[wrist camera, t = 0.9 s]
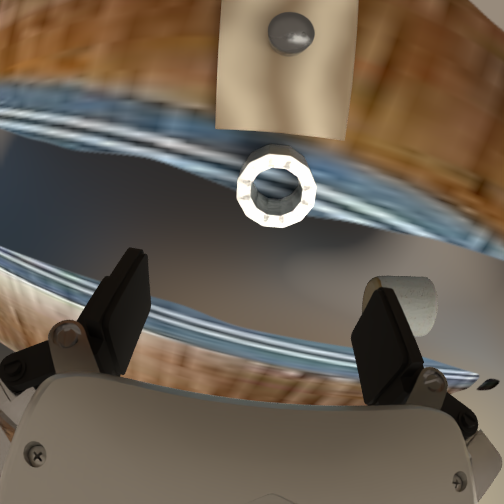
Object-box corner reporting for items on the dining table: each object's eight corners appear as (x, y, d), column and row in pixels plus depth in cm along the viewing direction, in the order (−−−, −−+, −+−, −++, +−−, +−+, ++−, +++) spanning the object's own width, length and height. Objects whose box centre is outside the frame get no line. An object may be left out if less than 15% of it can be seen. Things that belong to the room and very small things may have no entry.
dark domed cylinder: (309, 24, 20) (316, 14, 16) (306, 58, 21) (313, 54, 18) (269, 20, 20) (269, 9, 16) (267, 54, 21) (266, 49, 18)
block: (355, -26, 17) (359, -30, 15) (341, 137, 27) (344, 140, 25) (227, -39, 17) (225, -44, 16) (218, 126, 27) (215, 128, 26)
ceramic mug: (368, 263, 34) (384, 307, 28) (423, 264, 34) (446, 305, 28) (350, 322, 40) (359, 365, 34) (400, 321, 40) (414, 361, 34)
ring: (314, 148, 27) (320, 159, 24) (305, 211, 31) (309, 230, 28) (243, 141, 28) (238, 151, 24) (240, 206, 31) (235, 223, 28)
